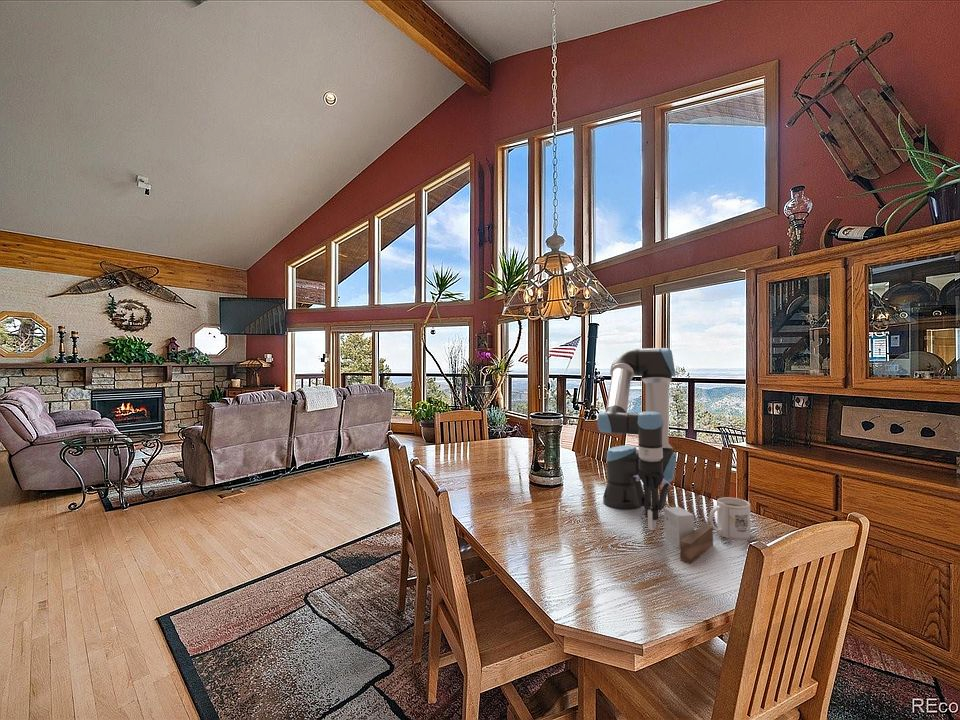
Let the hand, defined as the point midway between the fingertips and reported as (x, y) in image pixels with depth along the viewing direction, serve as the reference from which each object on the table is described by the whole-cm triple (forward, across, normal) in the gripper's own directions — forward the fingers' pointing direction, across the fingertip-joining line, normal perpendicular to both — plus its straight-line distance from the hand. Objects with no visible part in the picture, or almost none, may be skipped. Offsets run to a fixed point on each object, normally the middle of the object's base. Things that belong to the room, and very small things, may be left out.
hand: (652, 528), depth 150 cm
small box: (+4, +8, +2) cm, 9 cm away
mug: (+4, +17, +21) cm, 28 cm away
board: (+3, +15, -1) cm, 15 cm away
